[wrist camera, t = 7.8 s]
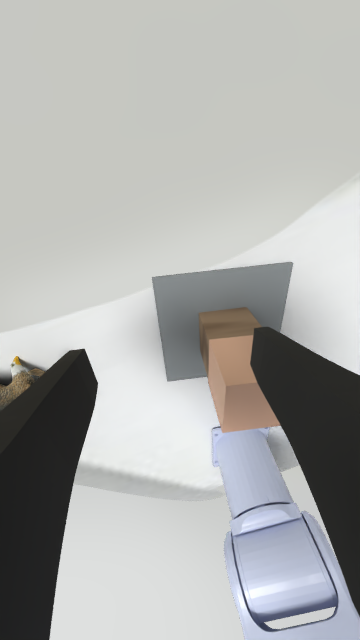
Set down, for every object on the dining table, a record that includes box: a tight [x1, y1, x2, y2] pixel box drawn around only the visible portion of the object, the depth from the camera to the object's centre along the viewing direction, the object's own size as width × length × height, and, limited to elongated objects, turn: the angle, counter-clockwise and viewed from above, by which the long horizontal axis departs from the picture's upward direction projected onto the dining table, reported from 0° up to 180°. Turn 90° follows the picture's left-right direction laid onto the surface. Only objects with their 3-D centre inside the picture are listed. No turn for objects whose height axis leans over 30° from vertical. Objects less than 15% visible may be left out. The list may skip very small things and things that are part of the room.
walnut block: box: [199, 307, 262, 377], centre depth 20 cm, size 4×4×4 cm
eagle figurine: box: [0, 356, 45, 411], centre depth 20 cm, size 8×7×9 cm
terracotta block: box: [208, 335, 281, 433], centre depth 16 cm, size 4×4×4 cm
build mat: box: [152, 262, 293, 381], centre depth 22 cm, size 12×12×1 cm
